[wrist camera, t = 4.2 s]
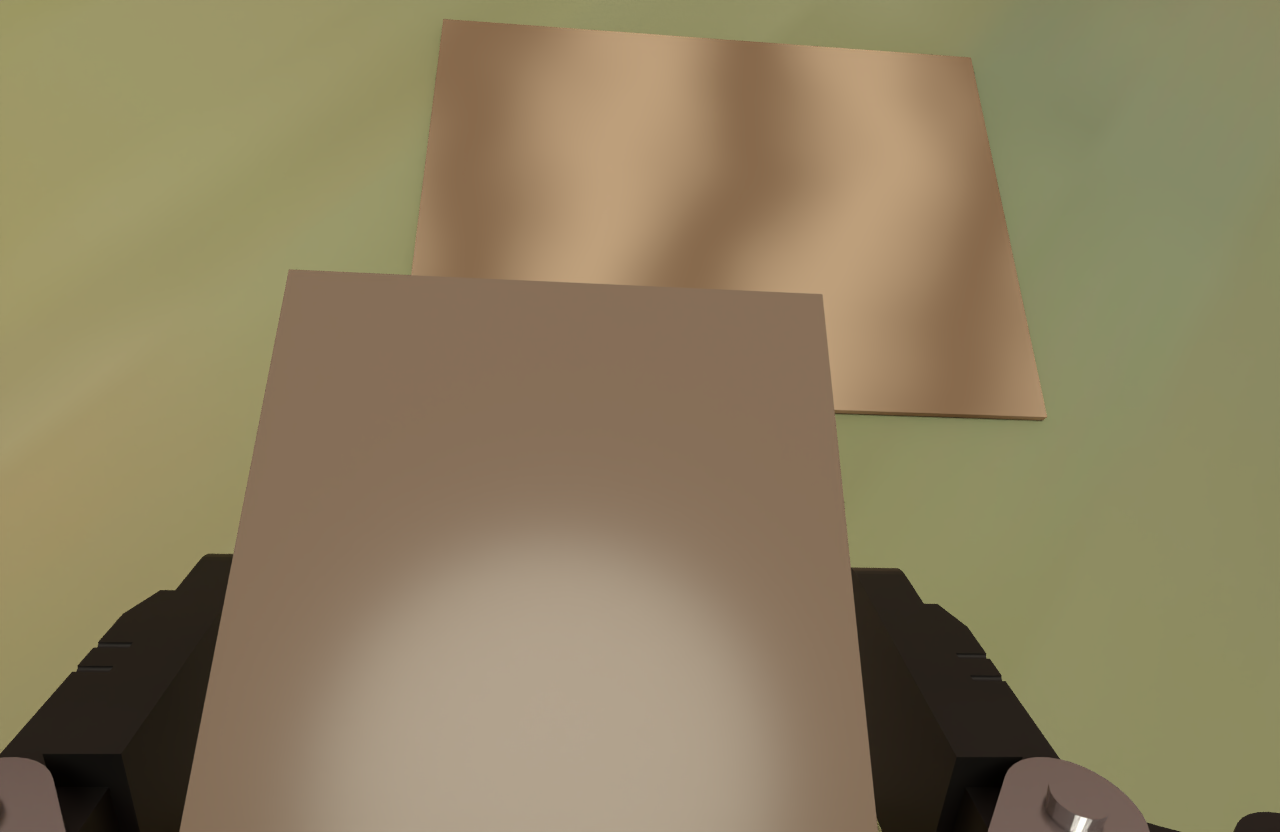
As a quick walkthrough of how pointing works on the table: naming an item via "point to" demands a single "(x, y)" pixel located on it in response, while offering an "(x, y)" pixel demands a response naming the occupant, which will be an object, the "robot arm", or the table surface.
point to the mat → (741, 194)
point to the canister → (538, 569)
